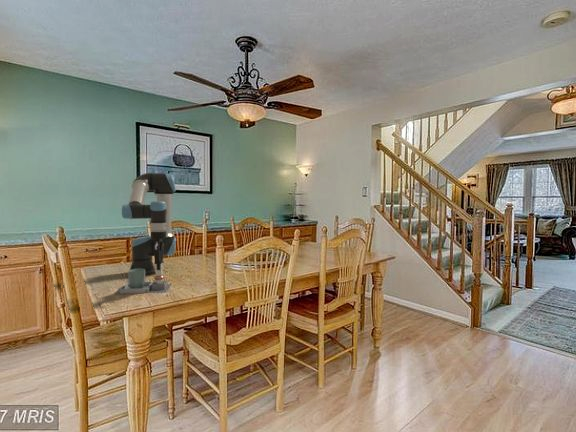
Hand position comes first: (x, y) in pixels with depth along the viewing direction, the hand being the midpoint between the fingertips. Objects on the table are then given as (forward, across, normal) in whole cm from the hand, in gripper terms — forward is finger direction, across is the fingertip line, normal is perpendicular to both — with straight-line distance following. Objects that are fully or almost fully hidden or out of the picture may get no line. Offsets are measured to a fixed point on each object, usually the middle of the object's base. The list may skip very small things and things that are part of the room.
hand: (159, 275), depth 166 cm
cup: (+7, 0, +11) cm, 13 cm away
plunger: (+6, 0, 0) cm, 6 cm away
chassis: (+8, 0, +6) cm, 10 cm away
